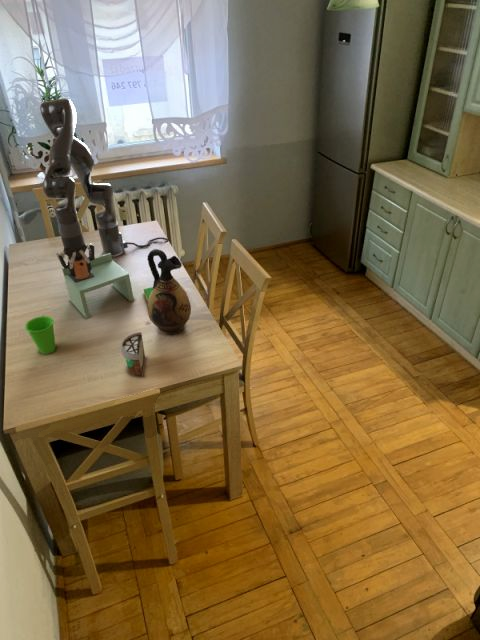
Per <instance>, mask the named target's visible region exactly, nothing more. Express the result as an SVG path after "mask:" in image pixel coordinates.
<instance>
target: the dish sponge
mask: <svg viewBox="0 0 480 640" xmlns="http://www.w3.org/2000/svg"><path fill="white" fill-rule="evenodd" d="M152 290H153V286H152V287H151V286H150V287H147V288H144V289H143V295H144V297H145V299H146V302H148V300H149V296H150V294H151V292H152Z"/></svg>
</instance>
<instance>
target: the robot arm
mask: <svg viewBox="0 0 480 640" xmlns="http://www.w3.org/2000/svg"><path fill="white" fill-rule="evenodd" d="M39 111H40V115H41V117H42V119H43V121H44V124H45V125H46V126H47V128H48V129H49V131H50V133H51V134H52V135H53V137H54V139H55V140H53V143H52V144H51V145H50V149H49V154H48V168H47V171H46V174H45V176H44V178H43V181H42V190H43V194H44V195H45V197H47V198H48V199H50V200H56V199H57V200H59V199H66V201H64V202H61V203H59V204H57V205H55V207H54V214H55V217H56V220H57V226H58V232H59V235H60V239H61V242H62V246H63V251H61V252H57V253H56V257H57V259H58V260H59V263H60V265H61V266H62V268H63V267H64V268H65V269H67V268H68V269H69V273H70V275H71V276H73V277H75V272H74V269H73V263H74V260H76V259H78V258H82V257H83V258H85V260H86V263H87V268H88V272H91V269H92V268H91V264H90V262H91V261H92V260H94V259H95V257H96V255H95V246H94V244H93V243H91V242H90V243H88V244H86V241H85V239H84V235H83V230H82V227H81V223H80V219H79V216H78V212H77V207H76V195H77V184H76V181H75V180H74V179H73V178H72V177H70V176H69V175H70V173H71V169H72V170H73V171H74V173H75V175H76V177H77V179H78V181H79V183H80V185H81V188H82V189H83V193H84V194H85V197H86V199H87V200H88V202H89V203H90V204H91V205H93V206H104V209H101V210H99V211H97V212H96V213H95V222H96V226H97V231H98V235H99V240H100V245H101V249H102V255H105V254H108V253H111V256H112V258H115V257H116V258H117V257H119V256H121V255H122V254H124V253H125V252H126V251H125V249H127V248H129V246H128V245H132V246H135V247H137V248H146V247H148V246H150V243H151V242H153V241H157V240H164V241H167V242H170V239H169V238H167V237H161V236H160V237H159V236H158V237H154V238H152V239H149V240H148V241H147V243H146V244H143V245H140V244H137V243H135V242H128V241H126V240H125V239H123V234H122V233H121V232H120V227H119V222H118V217H117V205H116V199H115V192H114V189H113V186H112V185H111V184H110V183H96V182H94V181H93V179H92V174H93V171H94V169H95V160H94V158H93V155H92V153H91V152H90V149H89V148H88V145H86V144H85V143H84V142H82V141H81V140H79V138H76V137H75V130H76V129H75V128H76V124H77V112H76V108H75V106H74V104H73V102H72V101H71V99H69V98H58V99H51V100H46V101H43V102H42V103H40V106H39ZM87 250H88V256H87V254H86V251H87ZM65 256H66V257H67V263H66V261H65Z"/></svg>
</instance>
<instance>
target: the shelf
mask: <svg viewBox="0 0 480 640" xmlns="http://www.w3.org/2000/svg"><path fill="white" fill-rule="evenodd" d="M90 264H91V268H92V269H91V272H89V276H88V277H87V278H84V279H76V278H75V277H73V276H71V275H70V273H69V269H68V268H67V269H65V268H64V267H63V266H62V267H61V271H62V274H63V279H64V282H65V286H66V289H67V293H68V296H69V300H70V302H71V303H72V304H73V305H74V306H75V308H76V309H77V310H78V312H80V313H81V315H83V316H84V318H85V319H88V318H90V317H91V314H90V310H89V307H88V301H87V298H86V295H85V294H87V293H89V292H92V291H95V290H98V289H101V288H104V287H107V286H110V285H112V286H113V288H115V289H116V290H117V292H119V293H120V294H121V295H122V296H123V297H125V298H126V299H127V300H128V301H129V302H132V301H133V302H134V301H135V299H134V294H133V288H132V282H131V277H130V273H128V271H126V270H125V269H124V268H123V267H121V266H120V265H119V264H117V262H115V261H114V260H113V257H112V256H111V253H108V254H105V255H103V254H101V255H99V256H95V259H94V260H92V261H91V262H90Z"/></svg>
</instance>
